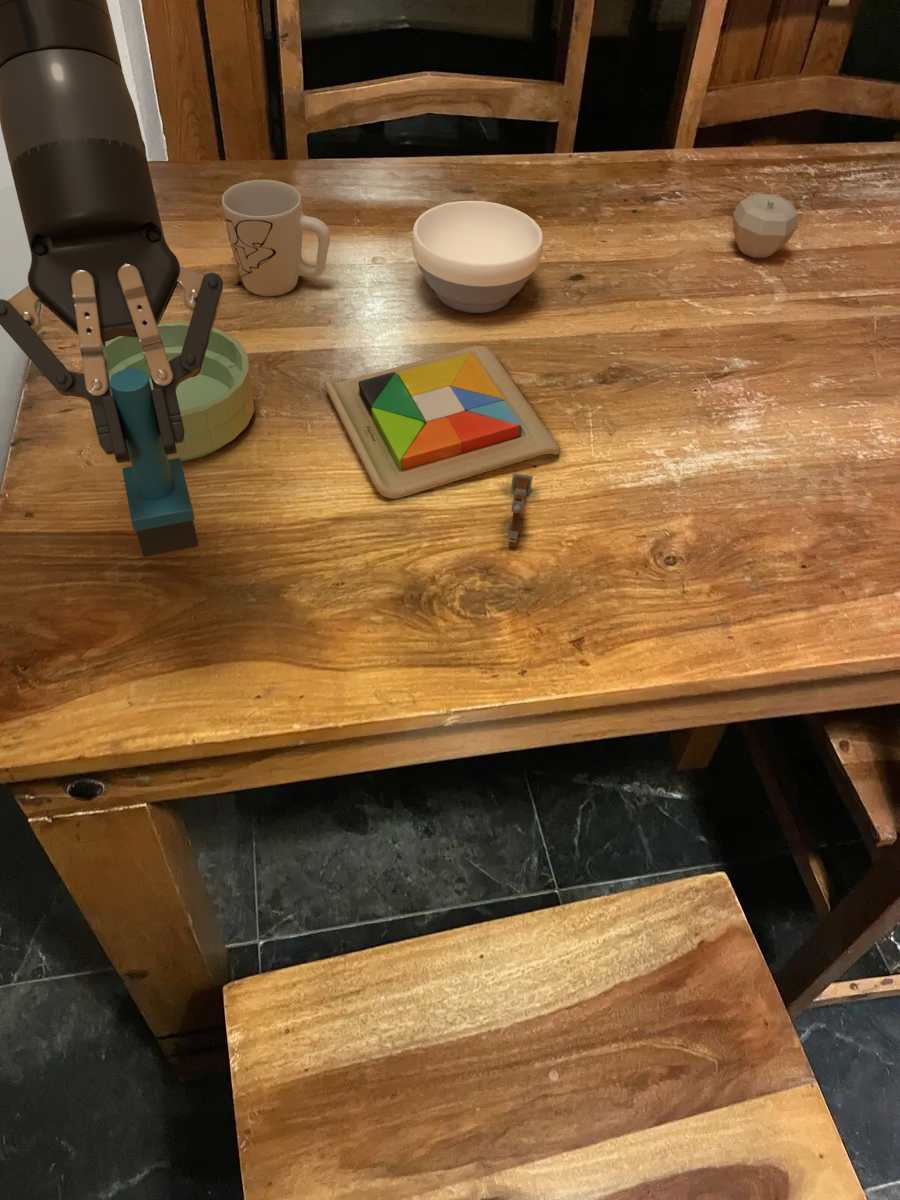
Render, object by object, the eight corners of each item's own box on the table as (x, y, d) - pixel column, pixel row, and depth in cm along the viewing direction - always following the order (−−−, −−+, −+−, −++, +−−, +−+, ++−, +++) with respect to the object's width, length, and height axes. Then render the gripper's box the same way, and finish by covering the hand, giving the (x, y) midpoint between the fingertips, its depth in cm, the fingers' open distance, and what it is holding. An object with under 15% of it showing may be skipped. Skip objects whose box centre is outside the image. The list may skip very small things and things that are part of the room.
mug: (340, 271, 110) (336, 187, 102) (323, 310, 104) (318, 225, 97) (245, 259, 110) (235, 175, 103) (223, 297, 105) (210, 211, 97)
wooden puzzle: (321, 392, 95) (319, 362, 92) (491, 358, 100) (494, 329, 97) (377, 505, 84) (377, 476, 82) (563, 460, 90) (569, 432, 87)
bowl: (448, 248, 114) (451, 187, 108) (556, 284, 110) (565, 222, 104) (387, 304, 106) (387, 240, 100) (501, 344, 102) (508, 280, 96)
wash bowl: (158, 492, 84) (145, 440, 80) (68, 415, 90) (51, 363, 86) (286, 421, 91) (281, 370, 87) (195, 355, 98) (185, 304, 93)
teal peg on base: (200, 547, 62) (168, 401, 53) (142, 558, 61) (99, 412, 52) (188, 495, 65) (156, 349, 56) (132, 505, 64) (90, 358, 55)
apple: (748, 272, 114) (764, 221, 109) (711, 241, 119) (725, 190, 114) (800, 261, 116) (818, 210, 112) (762, 231, 121) (778, 181, 116)
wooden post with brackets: (500, 548, 80) (507, 498, 78) (506, 517, 87) (513, 471, 86) (521, 551, 80) (529, 502, 78) (525, 519, 87) (533, 473, 85)
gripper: (-68, 145, 49) (13, 473, 51) (200, 121, 52) (267, 430, 54) (-35, 196, 56) (36, 482, 58) (199, 173, 59) (258, 443, 61)
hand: (147, 455), depth 56 cm, fingers closed on teal peg on base, 2 cm apart
